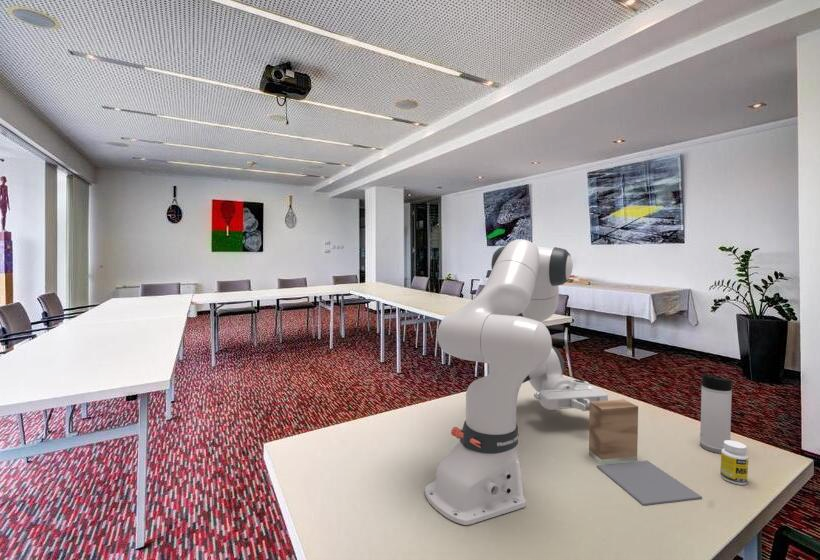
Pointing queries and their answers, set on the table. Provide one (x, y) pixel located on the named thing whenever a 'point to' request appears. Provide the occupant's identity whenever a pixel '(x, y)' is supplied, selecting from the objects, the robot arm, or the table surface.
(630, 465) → the mat
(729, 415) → the travel mug
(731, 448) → the supplement bottle
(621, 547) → the table surface
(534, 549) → the table surface
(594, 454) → the walnut block
